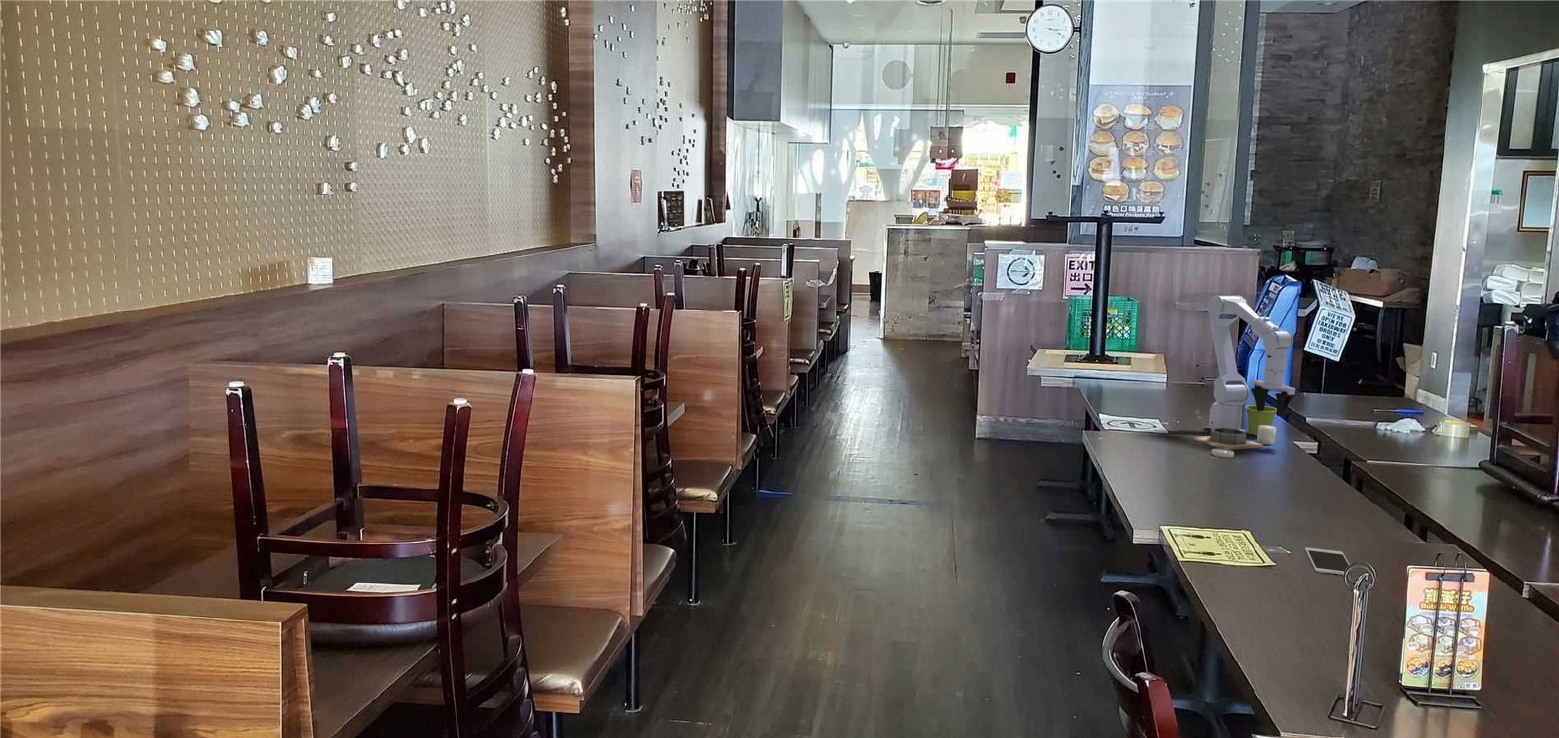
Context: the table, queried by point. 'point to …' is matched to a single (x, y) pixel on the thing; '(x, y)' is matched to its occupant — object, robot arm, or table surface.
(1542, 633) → the table surface
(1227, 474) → the table surface
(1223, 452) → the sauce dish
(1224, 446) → the mount plate
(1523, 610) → the table surface
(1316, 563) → the smartphone
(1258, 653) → the table surface
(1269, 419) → the plant pot
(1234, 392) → the robot arm
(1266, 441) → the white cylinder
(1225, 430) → the lens ring
